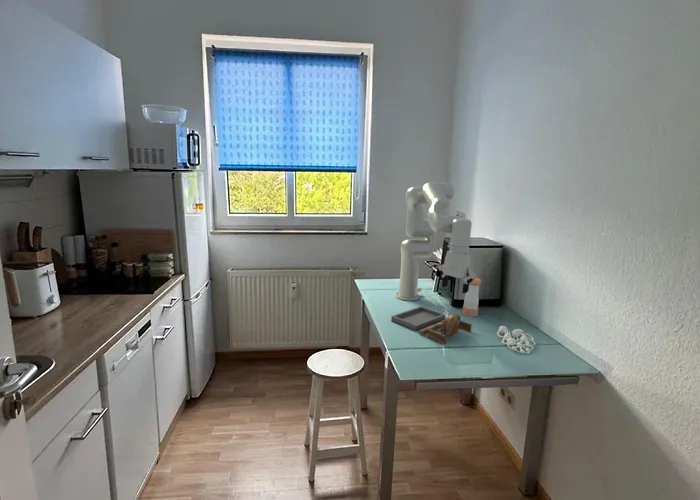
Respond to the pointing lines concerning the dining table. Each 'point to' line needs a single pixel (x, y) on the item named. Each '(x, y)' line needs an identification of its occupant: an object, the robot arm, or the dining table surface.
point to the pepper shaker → (472, 298)
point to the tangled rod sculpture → (512, 341)
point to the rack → (438, 336)
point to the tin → (450, 325)
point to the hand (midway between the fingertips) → (454, 289)
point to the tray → (418, 318)
